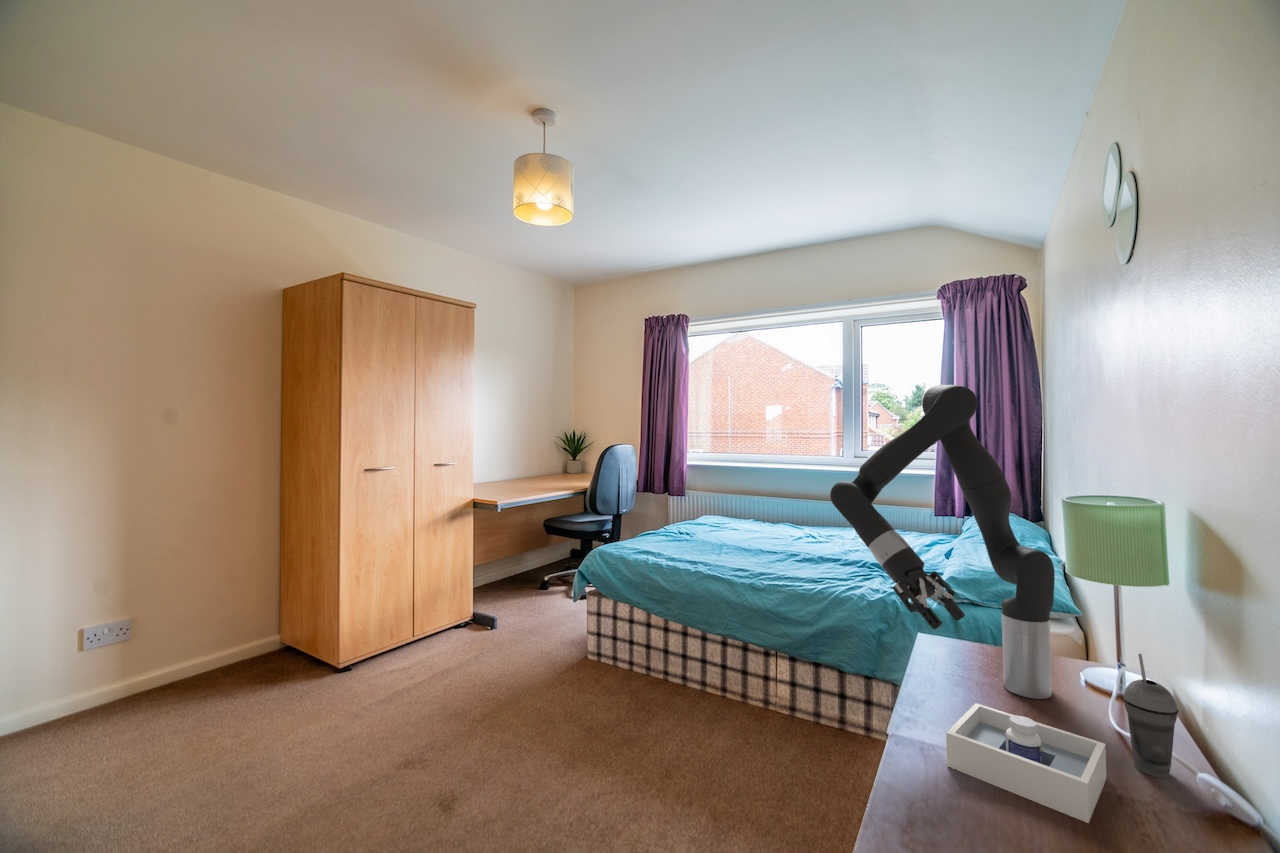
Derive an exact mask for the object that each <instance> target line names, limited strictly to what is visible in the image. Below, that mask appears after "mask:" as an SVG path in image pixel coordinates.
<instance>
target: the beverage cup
mask: <svg viewBox="0 0 1280 853" xmlns="http://www.w3.org/2000/svg"><path fill="white" fill-rule="evenodd" d="M1137 654H1138V662H1139V667H1140V672H1141V677H1142V678H1141V679H1137V680H1133V681H1131V682H1129V684H1128V685H1127V686H1126V687H1125V689H1124V692H1123V696H1122V700H1123V703H1124V706H1125V711H1126V714H1127V721H1128V728H1129V736H1130V743H1131V744H1130V745H1131V753H1132V758H1133V761H1134V766H1135V768H1136V769H1137V770H1138V771H1140V772H1142V773H1143V774H1145V775H1149V776H1152V777H1155V778H1162V779H1164V778H1165V779H1166V778H1169V777H1170V772H1171V767H1172V759H1173V758H1172V756H1173V747H1174V745H1173V744H1174V736H1175V735H1174V733H1175V724H1176V722H1177V718H1178V713H1179V708H1178V704H1177V702H1176V700H1175V698H1174V696H1173V695H1172V693H1171V692H1170V691H1169V690H1168V689H1167V688H1166V687H1165V686H1164V685H1162V684H1160V683H1158V682H1156V681H1154V680H1150V679H1147V676H1146V671H1145V664H1144V659H1143V655H1142V653H1137Z"/></svg>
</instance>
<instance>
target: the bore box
mask: <svg viewBox="0 0 1280 853" xmlns="http://www.w3.org/2000/svg"><path fill="white" fill-rule="evenodd" d="M1014 715H1015V714H1011V713H1009V712H1005V711H1001V710H999V709H996V708H992V707H989V706H986V705H984V704H981V703H976V702H975V703H974V704H973V705H972V706H971V707H970V708H969V709H968V710H967V711H966V712H965V713H964V714H963V715H962V716H961V717H960V718H959V719H958V720H957V721H956V722H955V723H954V724H953V725H952V726H951V727H950V728H949V730H947V731H946V733H945V734H946V736H945V738H946V739H945V740H946V766H947V767H948V768H950V767H951V769H952V770H955V769H956V770H955V771H958V772H961V773H962V774H966V775H968V776H970V777H973V778H975V779H978V780H980V781H983V782H985V783H988V784H990V785H992V786H996V787H997V788H1000V789H1003V790H1005V791H1007V792H1009V793H1012V794H1016V795H1018V796H1019V797H1022V798H1025V799H1027V800H1031V801H1033V802H1035V803H1037V804H1039V805H1042V806H1044V807H1047V808H1050V809H1052V810H1055V811H1057V812H1060V813H1062V814H1065V815H1066V816H1070V817H1071V818H1073V819H1076V820H1079V821H1082V822H1084V823H1086V824H1090V821H1091V819H1092V816H1093V813H1094V810H1095V809H1096V805H1097V804H1098V800H1099V799H1100V796H1101V793H1102V791H1103V788H1104V786H1105V783H1106V781H1107V756H1106V755H1107V753H1106V752H1107V751H1106V748H1107V747H1106V743H1104V742H1101V741H1098V740H1095V739H1092V738H1089V737H1085V736H1082V735H1079V734H1075V733H1073V732H1070V731H1066V730H1063V729H1060V728H1056V727H1053V726H1050V725H1046V724H1044V723H1040V722H1037V721H1035V722H1036V724H1037V733H1036V734H1037V735H1038V736H1039V737H1040V739H1041V743H1042V764H1040V763H1037V762H1035V761H1032V760H1029V759H1026V758H1023V757H1021V756H1018V755H1015V754H1012V753H1009V752H1007V751H1006V730H1007V729H1008V728H1011V727H1010V724H1009V719H1010V717H1011V716H1014Z"/></svg>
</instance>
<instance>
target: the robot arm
mask: <svg viewBox="0 0 1280 853" xmlns="http://www.w3.org/2000/svg"><path fill="white" fill-rule="evenodd" d="M921 405H922V406H921V407H922V411H923V414H924V415H923V416H922V417H921V418H920V419H919V420H918V421H917V422H915V423H914V424H913V425H911V427H909V428H908V429H907V430H905V431H903V432H902V433H900V434H899V435H897V436H896V437H894V438H893V439H891V440H890V441H888V442H886V444H883V445H882V446H881V447H880V448H879V449H877V451H875V452H874V453H873V454H872V455H871V456H870V457H869V458H868V459H867V460H865V462H864V463H862V464H861V466H860V468H859V470H858V475H857V476H856V478H855V479H853V481H848V480H842V481H838V482H837V483H835V484H834V485H833V486H832V488H831V490H830V493H829V496H830V501H831V503H832V505H833V506H834V507H835V509H836V510H838V512H839V513H840V515H842V517H844V519H846V521H847V522H848V523H849V524H850V525H851V526H852V528H853V529H854V531H855V532H856V534H857V535H858V536H859V538H860V539H861V541H862V542H863V543H864V544H865V547H867V548H868V549H869V551H870V552H871V554H872V556H873V557H874V559H875V560H876V562H877V563H878V564H879V565H880V567H881V568H882V569H883V570H884V572H886V574H887V575H888V576H889V578H890V579H891V580H892V582H894V583H895V585H894V586H893V587H892V590H893V591H894V593H895V594H896V596H898V598H899V599H900V600H901V602H902V603H903V605H904V606H905V608H906V609H907V610H908V612H909V613H914V612H915V613H917V614H918V615H919V614H920V615H921V616H922V617H923V619H924V620H925V621H926V622H927V624H928V625H929V626H930V628H931V629H932V630H937V629H939V628H940V627H941V626H943V621H942V620H941V619H940V618H939V616H938V615H937V614H936V613H935V612H934V611H933V609H932V608H931V607H929V604H928V600H927V599H931V600H933V601H937V602H938V603H940V604H942V605H943V607H944V609H945V610H946V611H947V612H948V613H949V615H951V616H952V618H953V619H954V620H955V622H958V621H960V620H962V619H963V618H965V616H966V615H965V612H963V610H962V609H961V608H960V606H959V605H958V604H957V603H956V602H955V601H954V600H953V599H954V596H955V595H956V592H955V590H954V589H953V588H951V586H950V585H949V584H948V583H947V582H946V580H944V578H943V577H942V576H941V575H940V574H939V573H938V571H936V570H933V571H932V572H931V573H930V574H928V573H927V572H926V571H925V570H924V567H925V562H924V561H923V560H922V558H920V556H919V555H918V554H917V552H915V550H914V549H913V547H911V546H910V545H909V543H908V542H907V541H906V540H905V539H904V537H903V536H901V535H900V534H899V533H898V532H897V531H896V530H895V529H894V528H893V526H892V525H891V523H889V521H888V520H887V519H886V518H885V517H884V516H883V515H882V514H881V513H880V512H879V511H878V510H877V509H876V507H874V506H873V504H872V503H873V502H874V501H875V499H877V497H878V496H879V495H880V493H881V492H882V490H883V489H884V488H885V486H887V485H889V484H890V482H891V481H893V480H894V479H895V478H896V477H897V476H898V475H899V474H901V472H903V470H904V469H906V468H907V467H908V466H909V465H910V464H911V463H912V462H913V461H914V460H916V459H917V458H918V457H919V456H920V455H922V454H923V453H924V452H925V451H927V450H928V449H929V448H931V447H932V446H933V445H935V444H937V442H939V441H940V442H941V444H942V446H943V448H944V451H945V454H946V456H947V458H948V461H949V464H950V466H951V468H952V469H953V470H952V471H953V473H954V475H955V477H956V479H957V482H958V485H959V487H960V489H961V492H962V493H963V496H964V498H965V500H966V502H967V503H968V506H969V507H970V510H971V512H972V514H973V517H974V520H975V521H976V525H977V527H978V528H979V531H980V534H981V536H982V539H983V543H984V545H985V549H986V552H987V554H988V556H989V560H990V563H991V566H992V568H993V571H994V572H995V574H996V575H997V576H998V577H999V578H1000V579H1001V580H1003V581H1005V582H1007V583H1009V584H1013V585H1016V587H1015V589H1016V590H1015V597H1011V598H1005V599H1004V600H1002V602H1001V634H1002V636H1001V639H1002V640H1001V641H1002V642H1001V643H1002V675H1003V676H1002V678H1003V679H1002V680H1003V682H1002V683H1003V687H1004V689H1005V690H1007V691H1008V692H1011V693H1012V694H1015V695H1017V696H1020V697H1025V698H1029V699H1036V700H1046V699H1049V698H1052V696H1053V692H1052V691H1053V688H1052V655H1051V654H1052V653H1051V652H1052V647H1051V617H1050V616H1051V612H1052V609H1053V607H1054V602H1055V601H1054V600H1055V579H1056V578H1055V577H1056V576H1055V566H1054V562H1053V560H1052V558H1051V557H1050V555H1049V554H1048V553H1047V552H1045V551H1042V550H1040V549H1036V548H1032V547H1027V546H1023V545H1021V544H1020V542H1018V539H1017V538H1016V536H1015V534H1014V532H1013V528H1012V527H1011V523H1010V512H1011V509H1012V508H1011V507H1012V501H1013V500H1012V496H1013V495H1012V492H1011V488H1010V485H1009V484H1008V481H1007V479H1006V477H1005V475H1004V473H1003V471H1002V469H1001V467H1000V466H999V464H998V462H997V461H996V460H995V458H994V457H993V456H992V454H991V453H990V452H989V451H988V449H986V448H985V446H984V445H983V444H982V443H981V442H980V441H979V439H978V438H977V436H976V435H975V433H974V432H973V430H972V428H971V425H970V423H969V421H970V419H972V418H973V416H974V415H975V414H976V412H977V410H978V405H979V404H978V399H977V395H976V393H975V392H974V390H972V389H970V388H968V387H966V386H964V385H960V384H959V385H958V384H937V385H935V386H932V387H930V388H929V389H927V390H926V391H925V393H924V395H923V397H922V402H921ZM909 600H910V601H909Z"/></svg>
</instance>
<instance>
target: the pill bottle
mask: <svg viewBox="0 0 1280 853" xmlns="http://www.w3.org/2000/svg"><path fill="white" fill-rule="evenodd" d="M1013 715H1014V716H1011V717H1010V719H1009V724H1010V727H1011V728H1008V729H1007V730H1006V751H1007V752H1009V753H1012V754H1015V755H1018V756H1021V757H1023V758H1026V759H1029V760H1032V761H1035V762H1037V763H1040V764H1042V743H1041V739H1040V737H1039V736H1038V735H1037V734H1036V733H1037V724H1036V722H1037V721H1035V720H1034V719H1031V718H1029V717H1026V716H1023V715H1015V714H1013Z"/></svg>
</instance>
